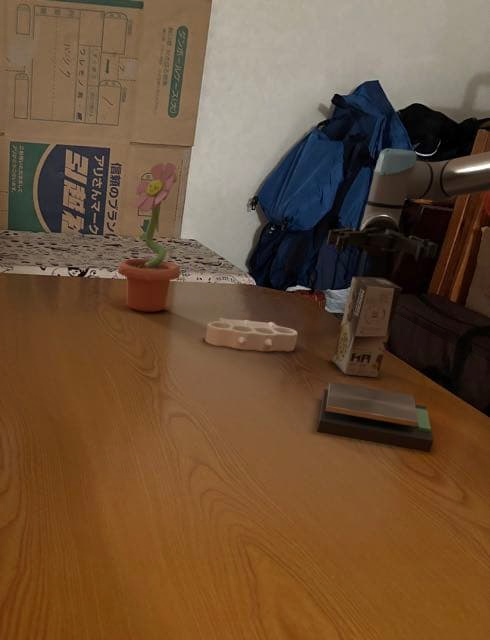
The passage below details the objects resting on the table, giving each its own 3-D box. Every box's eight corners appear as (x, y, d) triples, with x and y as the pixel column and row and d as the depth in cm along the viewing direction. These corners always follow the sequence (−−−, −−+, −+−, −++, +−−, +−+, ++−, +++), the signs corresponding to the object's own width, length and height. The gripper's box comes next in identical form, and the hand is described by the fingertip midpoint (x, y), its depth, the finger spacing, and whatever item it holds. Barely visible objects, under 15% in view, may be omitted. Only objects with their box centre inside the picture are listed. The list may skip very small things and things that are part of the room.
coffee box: (378, 378, 142) (403, 288, 134) (344, 375, 142) (367, 284, 134) (364, 363, 150) (387, 277, 142) (331, 360, 150) (352, 274, 142)
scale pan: (411, 402, 123) (413, 395, 123) (415, 429, 112) (418, 421, 112) (328, 388, 126) (329, 381, 126) (324, 413, 115) (326, 405, 115)
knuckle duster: (284, 336, 163) (300, 356, 151) (200, 329, 163) (208, 349, 150) (288, 320, 162) (304, 339, 149) (202, 313, 161) (211, 331, 148)
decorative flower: (101, 301, 179) (113, 156, 164) (151, 298, 185) (167, 159, 170) (134, 317, 167) (151, 164, 153) (186, 314, 174) (207, 167, 159)
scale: (422, 416, 125) (426, 403, 124) (429, 452, 112) (434, 437, 111) (322, 399, 129) (325, 386, 128) (317, 431, 115) (320, 417, 114)
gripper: (436, 261, 161) (446, 280, 143) (314, 245, 166) (309, 261, 148) (448, 223, 157) (459, 237, 139) (323, 207, 162) (319, 219, 145)
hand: (382, 249), depth 144 cm, fingers open, 13 cm apart
